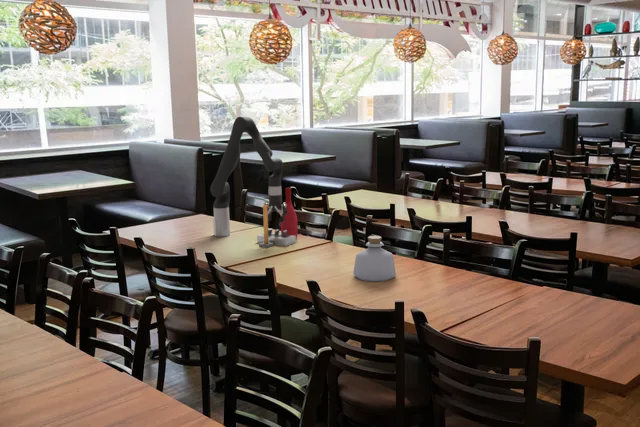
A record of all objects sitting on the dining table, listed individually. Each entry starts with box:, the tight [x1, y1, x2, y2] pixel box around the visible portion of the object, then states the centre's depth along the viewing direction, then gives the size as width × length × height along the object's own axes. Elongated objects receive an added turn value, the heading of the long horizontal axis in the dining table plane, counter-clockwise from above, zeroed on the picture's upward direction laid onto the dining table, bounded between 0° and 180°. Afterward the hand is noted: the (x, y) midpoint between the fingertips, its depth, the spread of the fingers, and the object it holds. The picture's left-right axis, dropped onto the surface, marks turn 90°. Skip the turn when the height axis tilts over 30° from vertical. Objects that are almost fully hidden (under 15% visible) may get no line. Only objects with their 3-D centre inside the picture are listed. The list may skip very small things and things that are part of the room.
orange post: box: [258, 204, 275, 249], centre depth 370 cm, size 6×6×24 cm
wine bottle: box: [280, 187, 298, 238], centre depth 389 cm, size 10×10×30 cm
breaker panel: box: [256, 232, 297, 247], centre depth 381 cm, size 20×10×4 cm, turn 59°
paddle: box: [268, 228, 274, 235], centre depth 382 cm, size 1×3×3 cm, turn 150°
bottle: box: [353, 235, 397, 283], centre depth 309 cm, size 20×20×19 cm
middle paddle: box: [274, 228, 281, 235], centre depth 380 cm, size 1×3×3 cm, turn 149°
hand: (275, 221), depth 379 cm, fingers open, 8 cm apart
